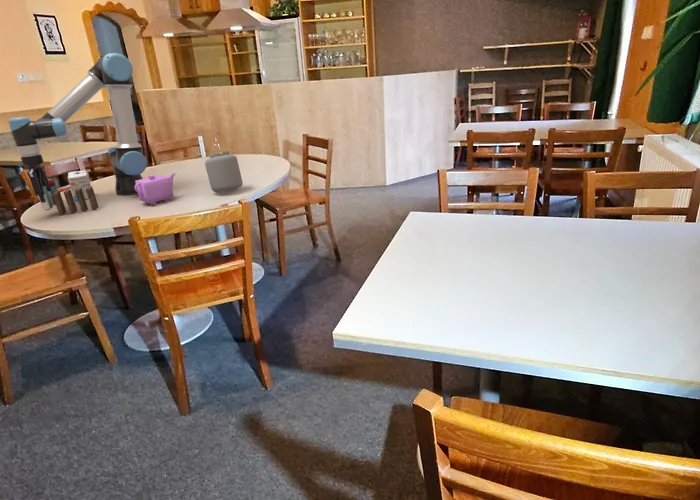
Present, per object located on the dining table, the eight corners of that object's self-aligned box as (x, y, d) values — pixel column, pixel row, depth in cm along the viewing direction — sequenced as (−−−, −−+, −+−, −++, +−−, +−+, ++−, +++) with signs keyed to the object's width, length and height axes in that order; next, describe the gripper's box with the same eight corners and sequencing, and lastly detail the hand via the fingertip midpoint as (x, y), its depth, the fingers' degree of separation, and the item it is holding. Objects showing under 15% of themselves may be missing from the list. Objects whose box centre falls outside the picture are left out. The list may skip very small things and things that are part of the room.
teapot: (144, 208, 200) (136, 180, 195) (135, 204, 207) (128, 178, 202) (186, 197, 213) (180, 170, 208) (177, 194, 220) (171, 168, 215)
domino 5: (98, 207, 209) (92, 186, 205) (96, 210, 205) (89, 188, 201) (95, 207, 209) (88, 186, 205) (92, 210, 204) (85, 189, 201)
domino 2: (66, 211, 206) (59, 190, 202) (63, 214, 202) (56, 193, 198) (62, 212, 206) (55, 191, 202) (59, 215, 201) (52, 193, 197)
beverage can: (54, 205, 219) (45, 181, 214) (42, 206, 220) (33, 182, 216) (64, 201, 225) (56, 178, 220) (53, 202, 227) (45, 178, 222)
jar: (207, 190, 221) (196, 138, 212) (236, 184, 228) (227, 134, 218) (216, 198, 206) (205, 142, 196) (247, 191, 212) (238, 137, 203)
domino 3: (77, 210, 207) (70, 189, 203) (74, 213, 203) (67, 191, 199) (73, 210, 207) (66, 189, 203) (70, 213, 202) (63, 192, 199)
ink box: (74, 201, 224) (65, 174, 219) (75, 197, 231) (66, 172, 226) (93, 197, 228) (85, 171, 222) (93, 194, 235) (86, 169, 229)
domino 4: (88, 208, 208) (81, 187, 204) (85, 211, 204) (78, 190, 200) (84, 209, 208) (77, 188, 204) (81, 212, 203) (74, 190, 200)
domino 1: (52, 207, 204) (45, 185, 200) (49, 210, 199) (41, 188, 196) (48, 207, 203) (41, 186, 200) (45, 210, 199) (37, 188, 195)
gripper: (28, 153, 200) (46, 203, 208) (12, 159, 183) (32, 214, 192) (47, 150, 201) (63, 201, 210) (33, 157, 185) (51, 211, 194)
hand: (48, 207), depth 201 cm, fingers closed on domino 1, 5 cm apart
